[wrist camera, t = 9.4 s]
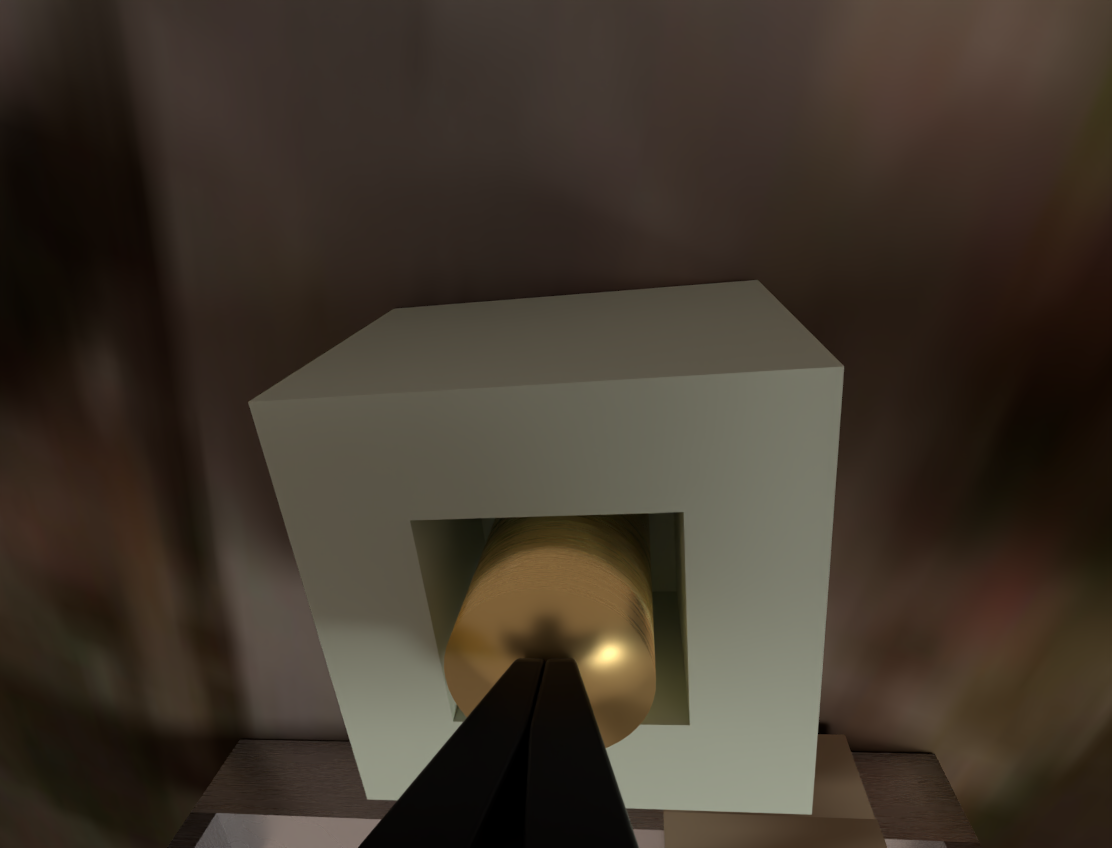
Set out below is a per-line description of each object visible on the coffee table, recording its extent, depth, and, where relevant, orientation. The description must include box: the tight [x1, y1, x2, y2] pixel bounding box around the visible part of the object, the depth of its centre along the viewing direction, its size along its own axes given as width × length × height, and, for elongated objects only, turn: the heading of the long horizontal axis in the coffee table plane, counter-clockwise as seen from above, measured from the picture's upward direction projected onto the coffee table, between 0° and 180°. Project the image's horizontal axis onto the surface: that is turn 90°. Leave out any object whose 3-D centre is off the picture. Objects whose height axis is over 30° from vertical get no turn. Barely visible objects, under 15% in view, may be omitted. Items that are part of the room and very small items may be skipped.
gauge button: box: [444, 513, 656, 748], centre depth 11 cm, size 3×3×4 cm
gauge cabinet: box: [248, 280, 844, 815], centre depth 13 cm, size 8×8×6 cm
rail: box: [167, 739, 982, 848], centre depth 18 cm, size 21×3×4 cm, turn 96°
